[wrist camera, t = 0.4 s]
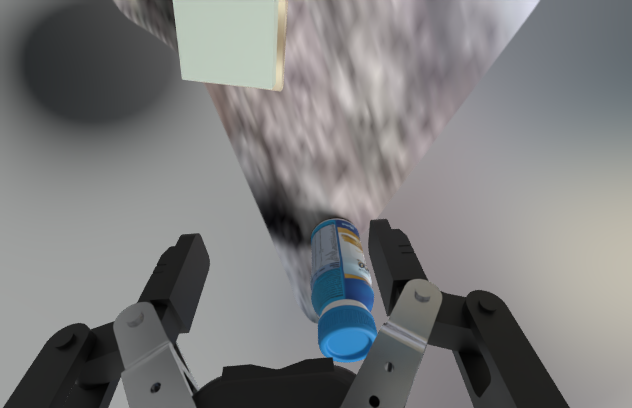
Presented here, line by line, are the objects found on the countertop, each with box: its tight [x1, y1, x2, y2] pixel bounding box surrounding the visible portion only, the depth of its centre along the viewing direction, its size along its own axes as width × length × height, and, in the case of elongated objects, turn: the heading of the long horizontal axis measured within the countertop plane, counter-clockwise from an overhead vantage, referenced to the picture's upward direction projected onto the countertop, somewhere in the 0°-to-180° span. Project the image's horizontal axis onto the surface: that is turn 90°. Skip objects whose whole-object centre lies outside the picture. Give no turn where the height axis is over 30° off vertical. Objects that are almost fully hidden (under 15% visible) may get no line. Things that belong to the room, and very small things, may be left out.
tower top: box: [173, 0, 279, 90], centre depth 29 cm, size 9×9×4 cm
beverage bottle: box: [310, 218, 377, 362], centre depth 40 cm, size 8×8×20 cm
